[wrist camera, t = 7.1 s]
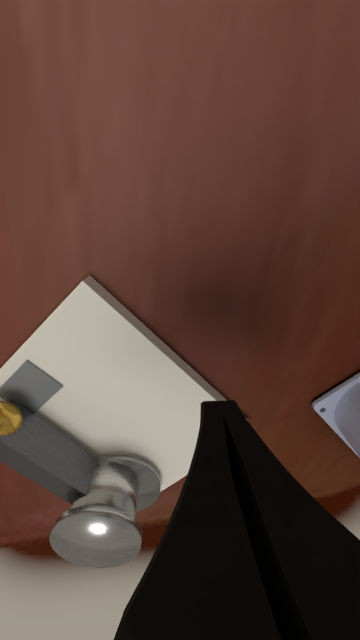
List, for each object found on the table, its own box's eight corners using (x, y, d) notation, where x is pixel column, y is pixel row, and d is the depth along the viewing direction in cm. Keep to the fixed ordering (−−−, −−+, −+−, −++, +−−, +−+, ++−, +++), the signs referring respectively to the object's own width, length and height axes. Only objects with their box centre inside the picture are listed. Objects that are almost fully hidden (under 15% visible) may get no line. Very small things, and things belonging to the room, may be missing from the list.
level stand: (248, 419, 23) (253, 435, 21) (115, 506, 28) (111, 525, 26) (90, 275, 17) (81, 281, 16) (-41, 414, 22) (-57, 430, 21)
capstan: (176, 483, 23) (176, 553, 19) (123, 514, 25) (110, 585, 20) (24, 367, 18) (-31, 423, 13) (-29, 417, 20) (-94, 481, 15)
